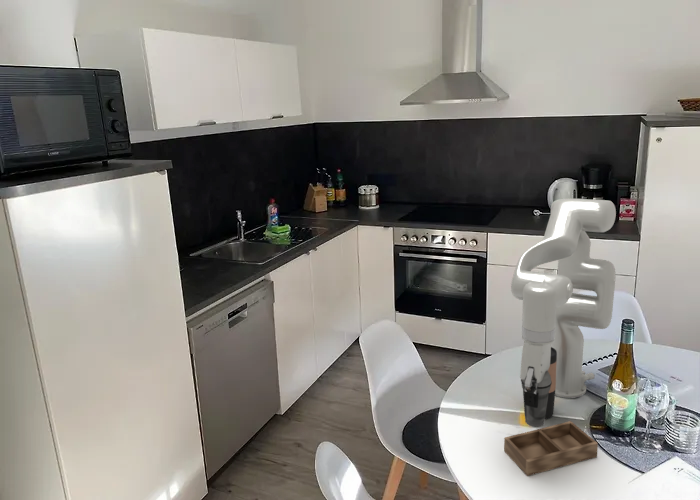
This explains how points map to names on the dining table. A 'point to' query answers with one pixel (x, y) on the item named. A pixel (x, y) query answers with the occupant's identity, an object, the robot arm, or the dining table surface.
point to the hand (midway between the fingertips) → (535, 398)
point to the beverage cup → (537, 415)
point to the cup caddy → (550, 448)
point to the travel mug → (553, 386)
